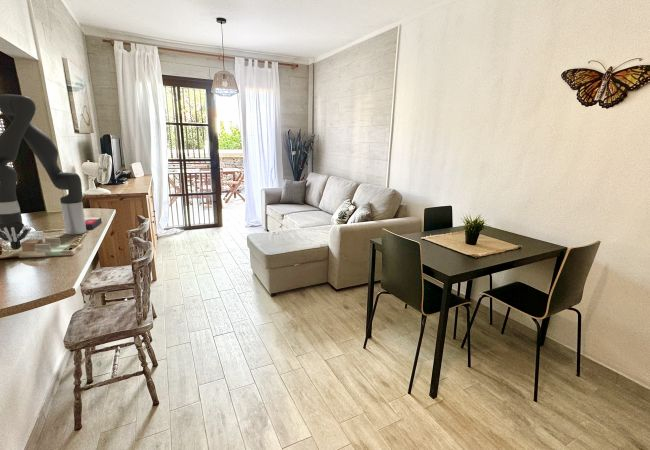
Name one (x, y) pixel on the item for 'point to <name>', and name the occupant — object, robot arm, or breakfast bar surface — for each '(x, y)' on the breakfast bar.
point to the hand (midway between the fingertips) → (16, 249)
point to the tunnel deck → (51, 249)
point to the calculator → (92, 223)
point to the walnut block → (30, 244)
